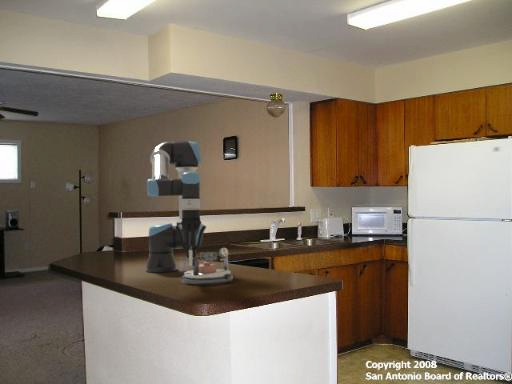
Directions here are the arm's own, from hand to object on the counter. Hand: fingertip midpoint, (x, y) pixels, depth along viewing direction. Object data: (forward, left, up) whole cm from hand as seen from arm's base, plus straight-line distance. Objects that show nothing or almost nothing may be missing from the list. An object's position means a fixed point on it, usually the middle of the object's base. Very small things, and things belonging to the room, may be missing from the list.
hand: (191, 265), depth 214 cm
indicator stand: (+1, +22, -8) cm, 23 cm away
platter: (+2, +9, -6) cm, 11 cm away
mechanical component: (-13, +26, -8) cm, 30 cm away
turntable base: (+1, +9, -8) cm, 12 cm away
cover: (0, +9, -4) cm, 10 cm away
